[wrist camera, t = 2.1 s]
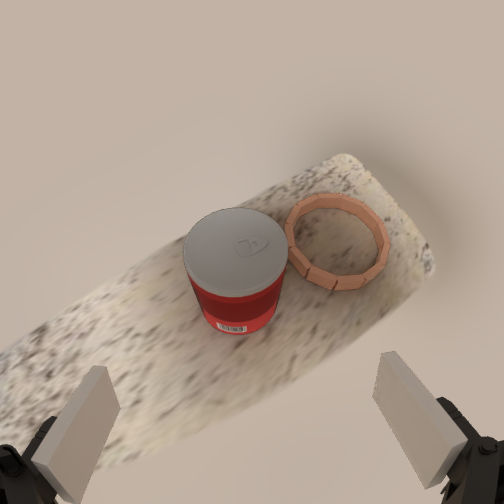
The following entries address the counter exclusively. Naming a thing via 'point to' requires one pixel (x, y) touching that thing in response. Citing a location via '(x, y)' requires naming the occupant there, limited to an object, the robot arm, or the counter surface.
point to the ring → (354, 208)
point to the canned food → (236, 268)
